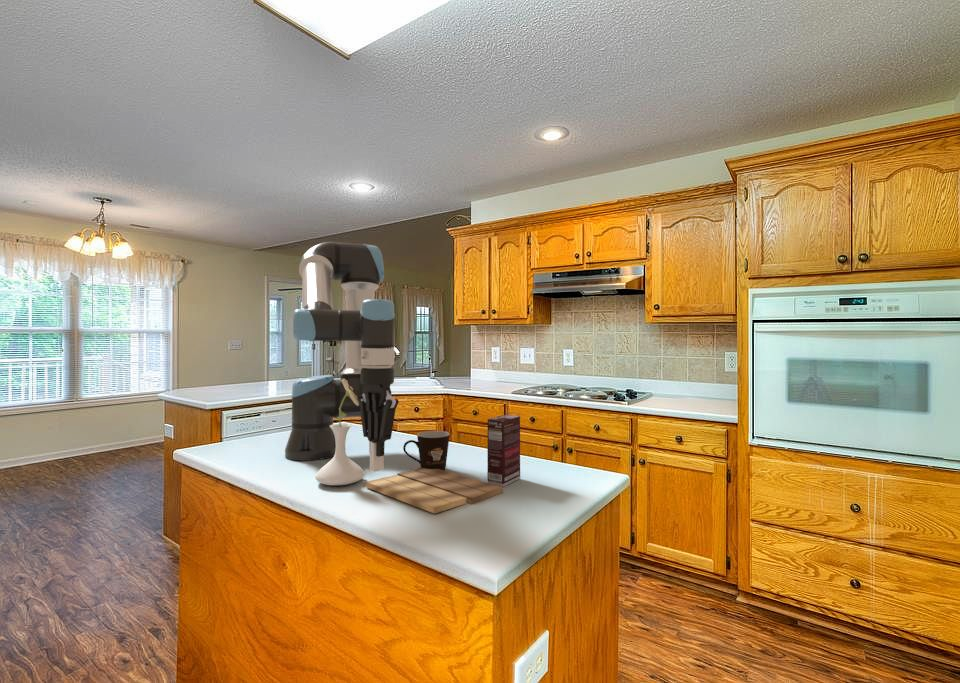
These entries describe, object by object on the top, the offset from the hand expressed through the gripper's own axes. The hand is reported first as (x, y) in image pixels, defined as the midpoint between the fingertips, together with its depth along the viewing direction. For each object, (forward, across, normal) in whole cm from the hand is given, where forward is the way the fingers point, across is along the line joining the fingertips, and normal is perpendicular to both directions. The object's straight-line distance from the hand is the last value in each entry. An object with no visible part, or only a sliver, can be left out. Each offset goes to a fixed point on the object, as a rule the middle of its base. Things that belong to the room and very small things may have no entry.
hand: (376, 469), depth 108 cm
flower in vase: (+5, -12, -2) cm, 13 cm away
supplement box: (+5, +17, +26) cm, 31 cm away
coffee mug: (+5, -4, +19) cm, 21 cm away
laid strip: (+5, +9, +14) cm, 17 cm away
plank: (+5, +9, +4) cm, 11 cm away
